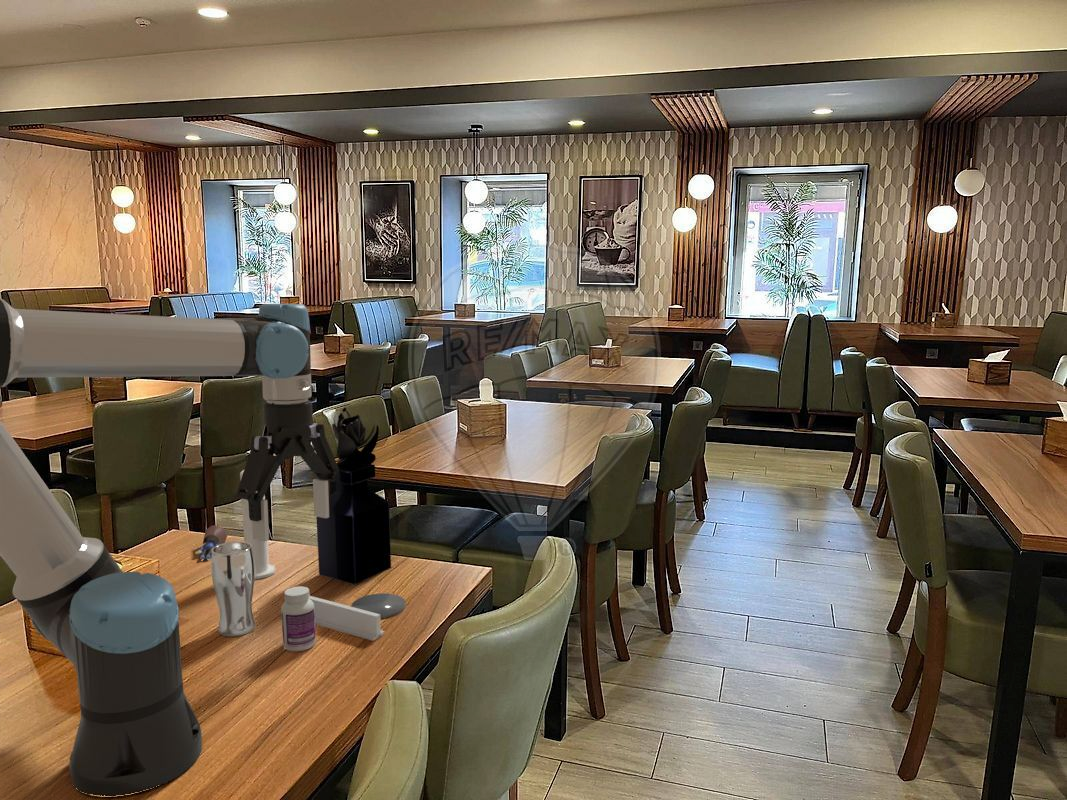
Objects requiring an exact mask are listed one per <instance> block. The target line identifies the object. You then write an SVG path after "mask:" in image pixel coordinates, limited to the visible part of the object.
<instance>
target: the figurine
mask: <svg viewBox="0 0 1067 800" xmlns="http://www.w3.org/2000/svg"><path fill="white" fill-rule="evenodd" d="M227 537H228V534H227V532H226V530H225V528H223V527H221V526H220V525H216V524H215V525H210V526H209V527H208V528H207V529H206V530H205V532H204V536H203V541H202V544H203V545H202V546H201V547H200V548H199V549H198V550H197V551H195V552H194V554H195V555H200V556H199V560H200V559H201V560H202V559H210V558H211V559H212V551H211V550H212V548H213V547H215V546H217V545H220V544H223V543H226V540H227ZM211 559H210V560H211ZM201 560H200V561H201Z"/></svg>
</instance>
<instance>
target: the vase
mask: <svg viewBox="0 0 1067 800" xmlns="http://www.w3.org/2000/svg"><path fill="white" fill-rule="evenodd" d="M342 412H343V413H345V412H346V414H347V417H346V418H345V416H344V414H343V413H342ZM331 428H332V430H333V431H332V432H333V435H334V437H335V439H336V440H337V442H338V443H337V451H336V456H337V458H338V459H339V460H338V461H336V463H337V465H338V468H339V471H338V473H334V474H335V479H334V480H330V482H335V484H336V485H335V486H336V488H335V489H336V490H335V491H334V492H333V493H332V494H330V496H329V518H321V517H316V516H315V517H316V536H317V537H316V538H317V552H318V553H317V555H318V556H317V559H318V575H319V576H321V577H326V578H329V579H333V580H336V581H339V582H343V583H347V584H350V585H354V586H355V585H358V584H360V583H363V582H365V581H367V580H369V579H370V578H374V577H376V576H378V575H379V574H381V573H383V572H385V571H388V570H390V569H391V568H392V556H391V553H392V552H391V551H392V550H391V524H390V523H391V522H390V519H391V518H390V502H389V501H388V500H387V499H385V498H384V497H382V496H381V495H379V494H378V493H376V492H375V491H373V490H372V489H370V488H369V480H370V479H374V478H376V465H375V464H373V463H374V462H375V461H376V458H377V457H376V455H375V454H374V453H373V452H374V450H375V448H376V446H377V442H378V439H379V433H380V428H379V425H378V424H376V426H375V425H373V426H372V429H371V432H370V433H369V435H368V436H367V437H366V432H367V429H366V426H364V424H363V422H362V420H361V415H360V414H355V415H353V416H351V414H350V413H349V412H348V410H347V407H343V409H342V411H341V412H340V413H339V415H338V416H337V423H336V422H333V423H332V424H331ZM375 429H376V430H375ZM371 437H372V438H371ZM363 445H364V446H363ZM362 446H363V447H362ZM360 447H362V449H361V450H359V449H360Z"/></svg>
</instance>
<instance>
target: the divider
mask: <svg viewBox="0 0 1067 800" xmlns="http://www.w3.org/2000/svg"><path fill="white" fill-rule="evenodd" d="M309 599H310V600H312V601H313V603H314V611H315V626H316V625H317V626H321V627H324V628H327V629H330V630H332V631H333V630H334V631H337V632H340V633H345V634H348V635H351V636H355V637H358V638H362V639H365V640H368V641H373V642H375V641H376V640H377V639H379V638H381V637H382V636H384V635H385V633H386V632H385V630H383V629H382V628H381V627H382V626H381V624H382V623H381V622H382V621H381V619H380V614H377V613H373V612H369V611H365V610H362V609H358V608H354V607H351V606H350V605H346V604H342V603H339V602H335V601H331V600H327V599H324V598H320V597H316V596H314V595H313V596H312V595H310V597H309Z"/></svg>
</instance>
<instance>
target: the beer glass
mask: <svg viewBox="0 0 1067 800" xmlns="http://www.w3.org/2000/svg"><path fill="white" fill-rule="evenodd" d="M211 551H212V553H211V559H210V562H211V563H210V564H211V567H210V568H211V580H212V586H213V590H214V592H215V593H214V594H215V597H216V601H217V604H218V610H219V621H218V622H219V623H218V634H219V635H220V636H223V637H227V638H230V637H231V638H235V637H241V636H244V635H247V634H249V633H252V632H253V631H254V630H255V628H256V621H255V617H254V614H253V606H252V605H253V604H252V603H253V594H254V587H255V579H254V578H255V568H254V558H253V552H252V545H251V544H250V543H248V542H244V541H241V540H240V541H236V540H235V541H228V542H225V543H223V544H220V545H217V546H215V547H213V548H212V550H211Z"/></svg>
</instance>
